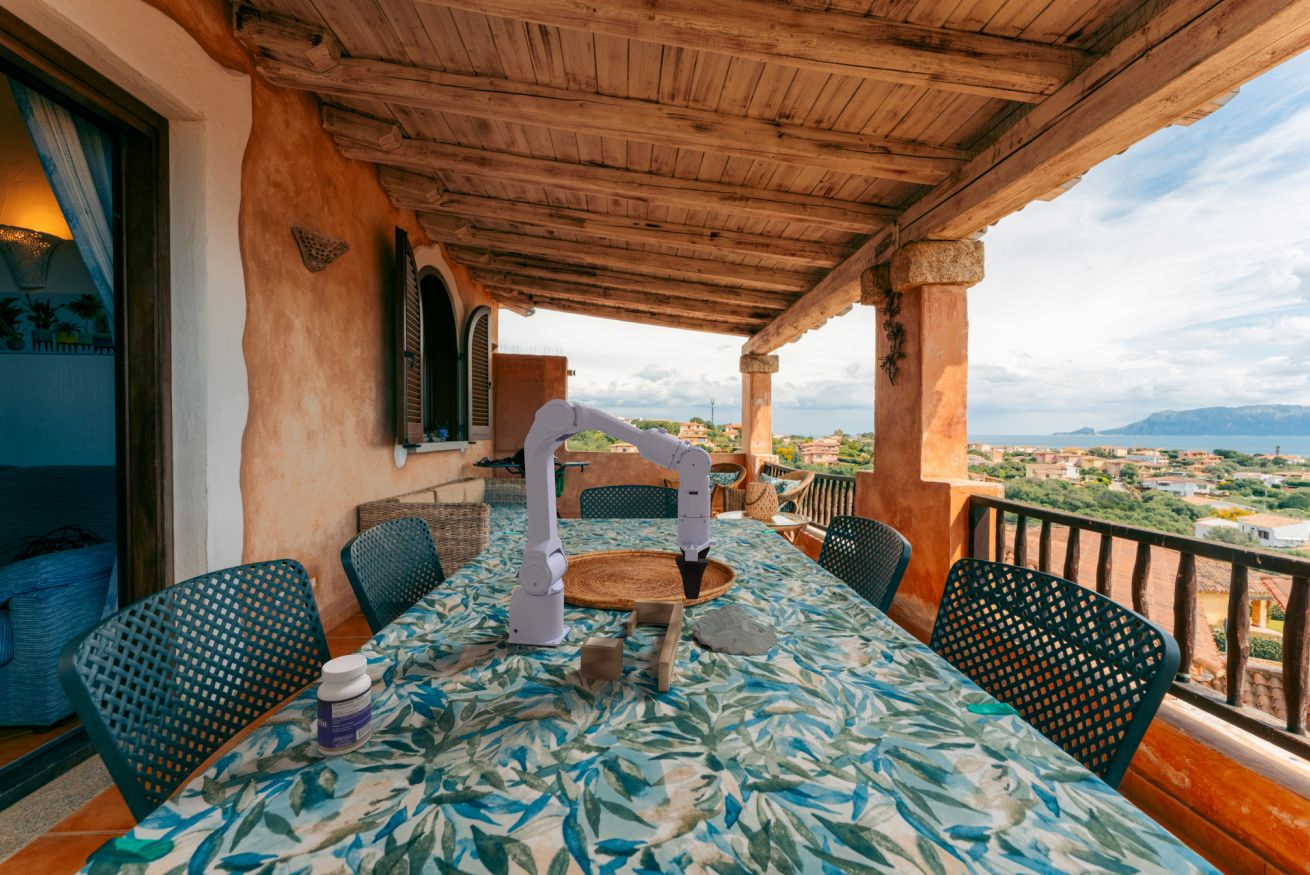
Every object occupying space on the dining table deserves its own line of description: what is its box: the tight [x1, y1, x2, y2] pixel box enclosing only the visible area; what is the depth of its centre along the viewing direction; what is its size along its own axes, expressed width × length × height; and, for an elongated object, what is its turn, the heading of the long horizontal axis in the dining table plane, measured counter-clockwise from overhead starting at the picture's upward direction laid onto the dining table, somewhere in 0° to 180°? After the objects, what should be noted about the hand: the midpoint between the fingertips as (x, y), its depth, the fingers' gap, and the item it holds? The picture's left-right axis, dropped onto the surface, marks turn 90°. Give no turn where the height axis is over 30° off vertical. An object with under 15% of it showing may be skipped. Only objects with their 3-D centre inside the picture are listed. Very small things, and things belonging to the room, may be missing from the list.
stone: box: [691, 604, 778, 657], centre depth 95 cm, size 16×4×15 cm
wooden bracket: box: [626, 598, 684, 692], centre depth 89 cm, size 10×28×4 cm, turn 172°
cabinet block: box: [579, 635, 625, 682], centre depth 80 cm, size 6×4×5 cm, turn 82°
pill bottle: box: [316, 654, 373, 757], centre depth 62 cm, size 6×6×10 cm
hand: (693, 591), depth 90 cm, fingers open, 7 cm apart
